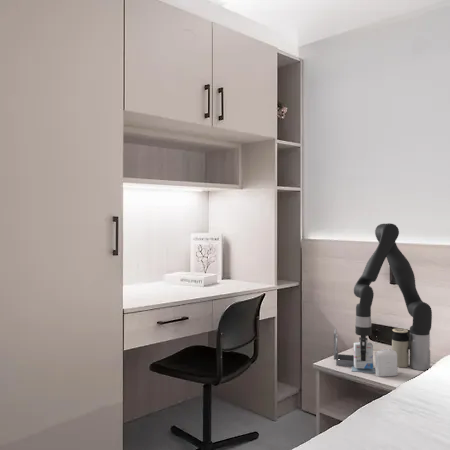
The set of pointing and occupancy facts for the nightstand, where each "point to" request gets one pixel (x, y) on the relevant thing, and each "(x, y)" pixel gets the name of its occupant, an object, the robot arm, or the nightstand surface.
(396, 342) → the travel mug
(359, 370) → the pad
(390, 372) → the photo printer
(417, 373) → the nightstand surface
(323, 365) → the nightstand surface
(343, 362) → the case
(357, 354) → the ink box
